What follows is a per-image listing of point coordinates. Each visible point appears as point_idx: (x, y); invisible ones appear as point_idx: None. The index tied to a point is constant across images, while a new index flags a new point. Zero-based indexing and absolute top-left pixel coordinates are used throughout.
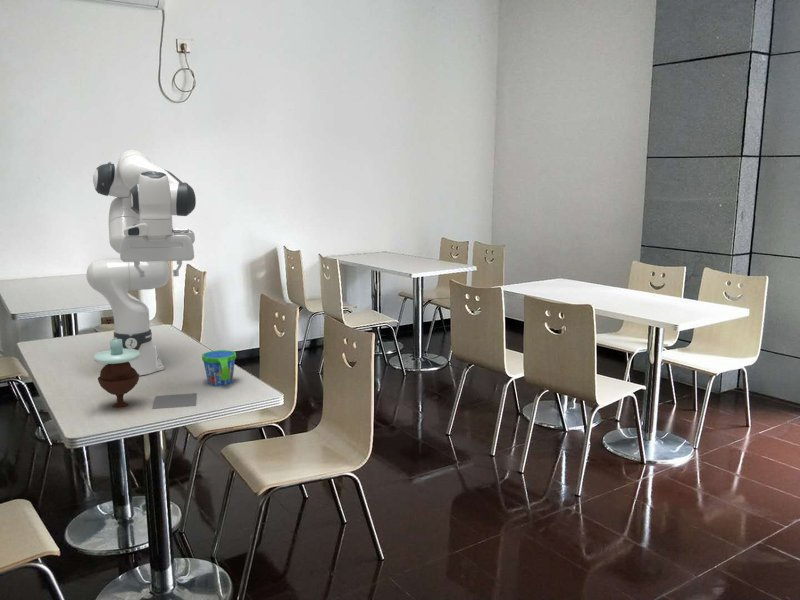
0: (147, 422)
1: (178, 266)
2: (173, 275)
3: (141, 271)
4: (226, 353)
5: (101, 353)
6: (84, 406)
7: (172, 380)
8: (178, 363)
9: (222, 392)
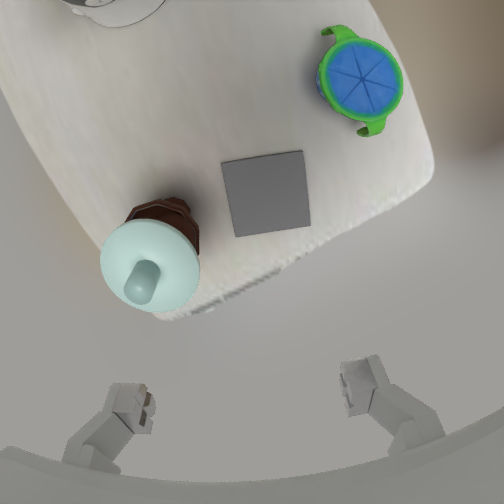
0: (242, 280)
1: (393, 432)
2: (342, 388)
3: (137, 433)
4: (378, 62)
5: (111, 266)
6: (111, 204)
7: (226, 40)
8: None
9: (349, 136)
